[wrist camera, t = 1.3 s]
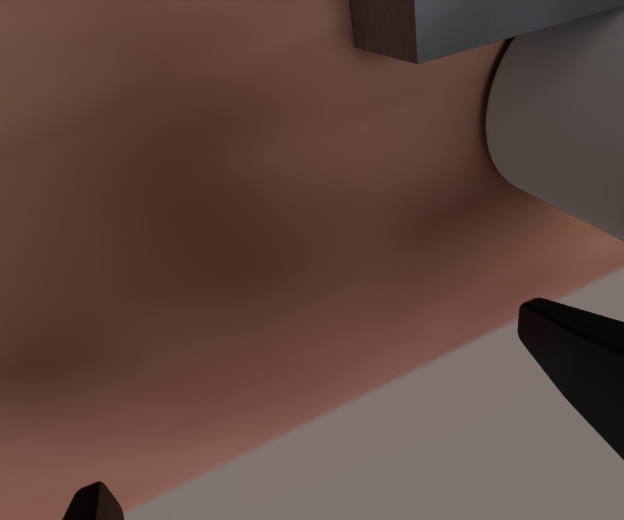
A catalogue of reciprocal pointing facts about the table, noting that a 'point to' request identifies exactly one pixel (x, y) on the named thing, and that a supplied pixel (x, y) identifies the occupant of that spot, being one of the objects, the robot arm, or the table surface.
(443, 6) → the jig plate
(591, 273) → the table surface
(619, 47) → the beverage can
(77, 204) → the table surface
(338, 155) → the table surface
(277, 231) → the table surface
